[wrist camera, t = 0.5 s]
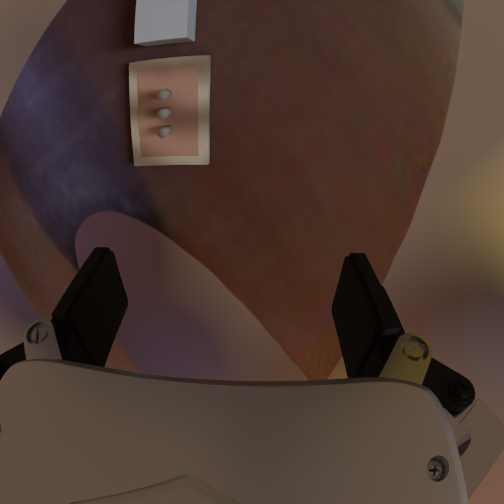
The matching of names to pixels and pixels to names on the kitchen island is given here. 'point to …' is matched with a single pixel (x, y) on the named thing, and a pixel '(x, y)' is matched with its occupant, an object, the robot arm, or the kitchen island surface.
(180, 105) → the pin block
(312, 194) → the kitchen island surface
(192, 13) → the block
